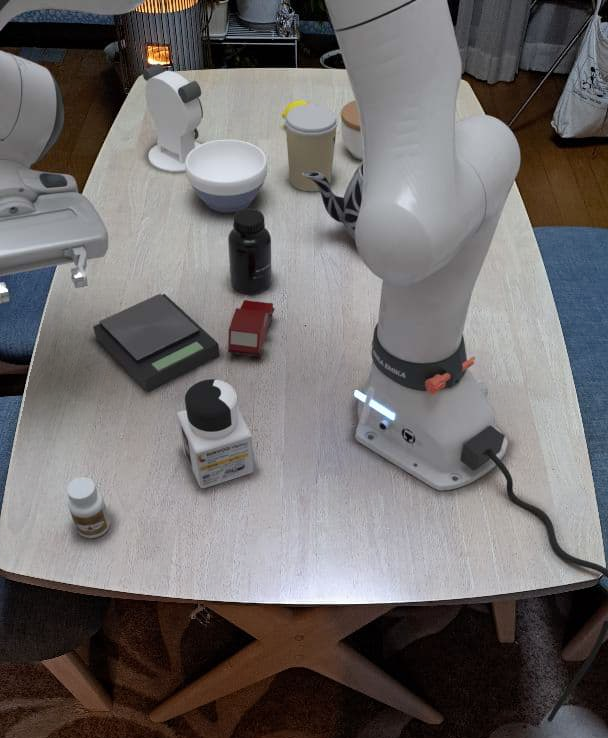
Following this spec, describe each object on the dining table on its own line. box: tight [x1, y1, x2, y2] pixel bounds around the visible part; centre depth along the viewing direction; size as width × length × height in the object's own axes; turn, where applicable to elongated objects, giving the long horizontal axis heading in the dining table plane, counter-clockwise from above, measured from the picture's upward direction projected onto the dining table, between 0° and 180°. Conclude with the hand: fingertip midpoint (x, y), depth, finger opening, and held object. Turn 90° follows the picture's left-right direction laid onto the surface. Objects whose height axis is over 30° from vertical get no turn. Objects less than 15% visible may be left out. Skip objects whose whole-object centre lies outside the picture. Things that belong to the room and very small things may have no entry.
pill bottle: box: [66, 477, 111, 539], centre depth 101 cm, size 4×4×8 cm
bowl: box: [185, 138, 268, 213], centre depth 145 cm, size 14×14×8 cm
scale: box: [92, 293, 221, 393], centre depth 123 cm, size 15×13×3 cm
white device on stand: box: [142, 63, 204, 173], centre depth 150 cm, size 12×11×15 cm
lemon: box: [281, 99, 310, 121], centre depth 161 cm, size 7×5×5 cm
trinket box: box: [340, 100, 363, 161], centre depth 154 cm, size 11×11×9 cm
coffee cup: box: [284, 103, 339, 193], centre depth 147 cm, size 9×9×12 cm
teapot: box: [302, 160, 363, 240], centre depth 136 cm, size 19×31×15 cm, turn 94°
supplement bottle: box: [227, 208, 272, 295], centre depth 129 cm, size 7×7×12 cm
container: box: [176, 378, 255, 489], centre depth 106 cm, size 8×8×13 cm
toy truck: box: [227, 299, 275, 359], centre depth 124 cm, size 6×12×5 cm, turn 170°
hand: (43, 291), depth 97 cm, fingers open, 8 cm apart
